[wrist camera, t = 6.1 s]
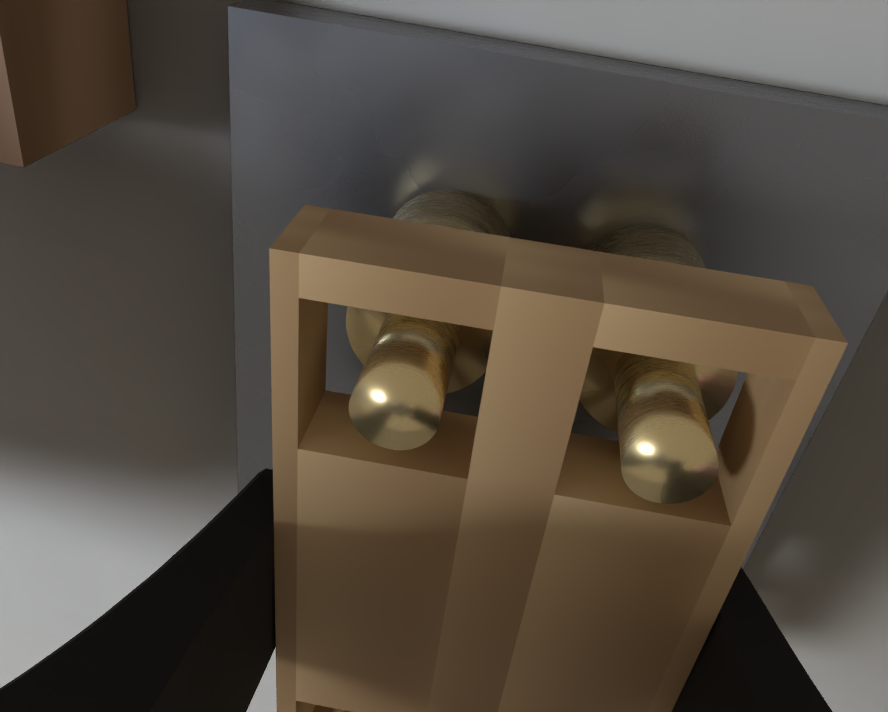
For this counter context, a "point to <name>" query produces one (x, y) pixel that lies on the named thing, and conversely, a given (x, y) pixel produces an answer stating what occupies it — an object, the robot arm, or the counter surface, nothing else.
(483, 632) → the wooden frame
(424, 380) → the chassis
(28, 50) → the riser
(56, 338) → the counter surface
